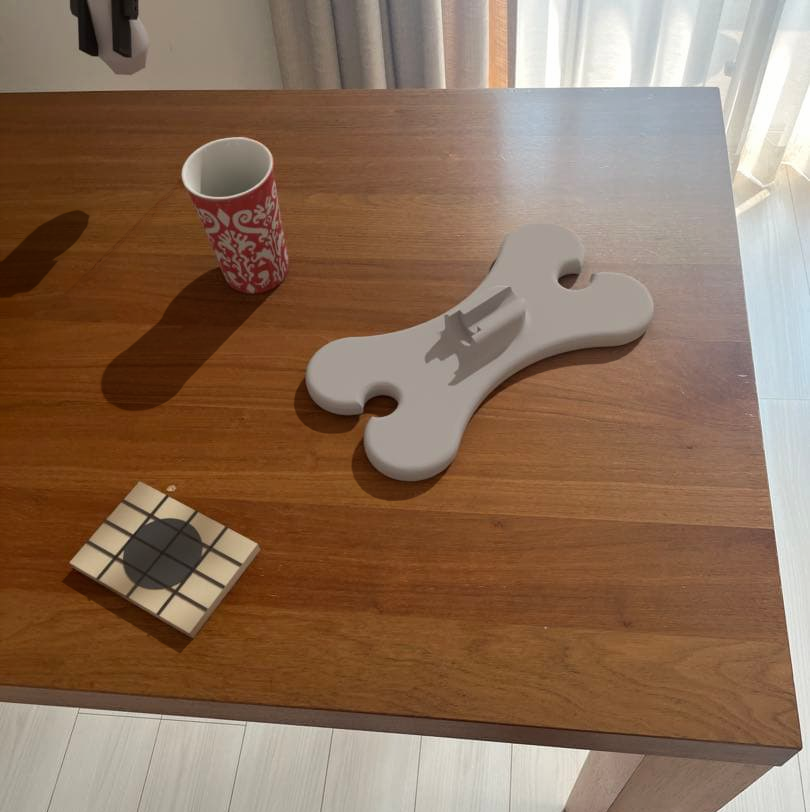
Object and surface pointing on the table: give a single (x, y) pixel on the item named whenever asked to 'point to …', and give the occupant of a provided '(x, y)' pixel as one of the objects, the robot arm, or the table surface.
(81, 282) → the table surface
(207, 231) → the mug
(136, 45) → the white pawn
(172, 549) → the grid board
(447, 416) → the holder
